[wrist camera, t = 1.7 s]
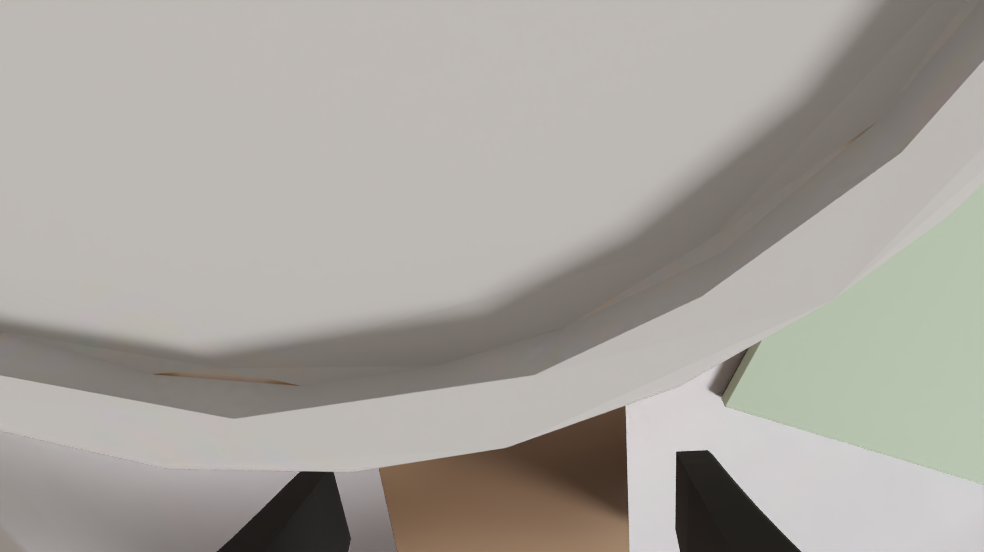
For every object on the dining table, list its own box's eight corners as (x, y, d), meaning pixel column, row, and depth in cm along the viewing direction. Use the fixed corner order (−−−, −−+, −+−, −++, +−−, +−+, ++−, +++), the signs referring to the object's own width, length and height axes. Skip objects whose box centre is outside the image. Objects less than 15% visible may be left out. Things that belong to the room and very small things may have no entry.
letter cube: (606, 443, 18) (630, 590, 13) (439, 451, 18) (406, 594, 14) (599, 283, 16) (624, 388, 11) (413, 296, 16) (364, 402, 12)
